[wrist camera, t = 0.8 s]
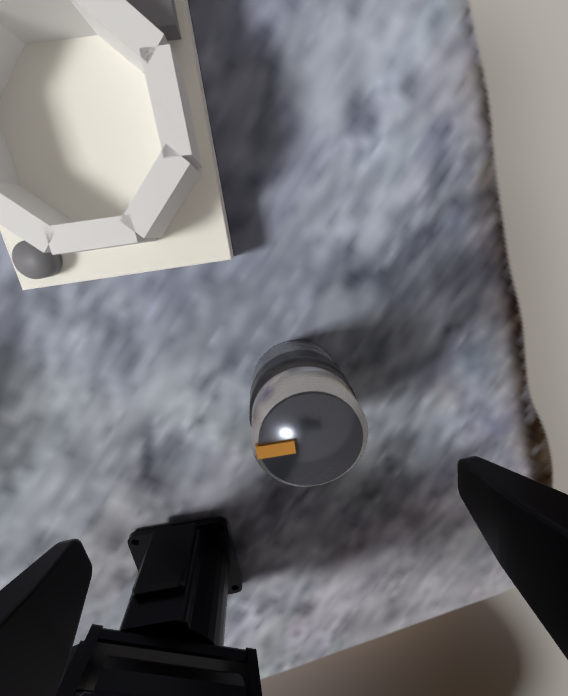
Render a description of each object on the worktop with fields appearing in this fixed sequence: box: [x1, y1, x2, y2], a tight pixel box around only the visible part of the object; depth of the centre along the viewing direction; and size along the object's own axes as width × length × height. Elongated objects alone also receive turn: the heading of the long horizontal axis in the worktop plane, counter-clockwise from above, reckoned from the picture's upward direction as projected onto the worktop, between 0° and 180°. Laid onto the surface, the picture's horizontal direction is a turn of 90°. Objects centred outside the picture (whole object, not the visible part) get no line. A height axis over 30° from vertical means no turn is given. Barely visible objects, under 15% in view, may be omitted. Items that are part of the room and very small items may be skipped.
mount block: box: [0, 0, 234, 290], centre depth 14 cm, size 11×10×4 cm
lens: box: [250, 340, 368, 487], centre depth 17 cm, size 5×5×6 cm
